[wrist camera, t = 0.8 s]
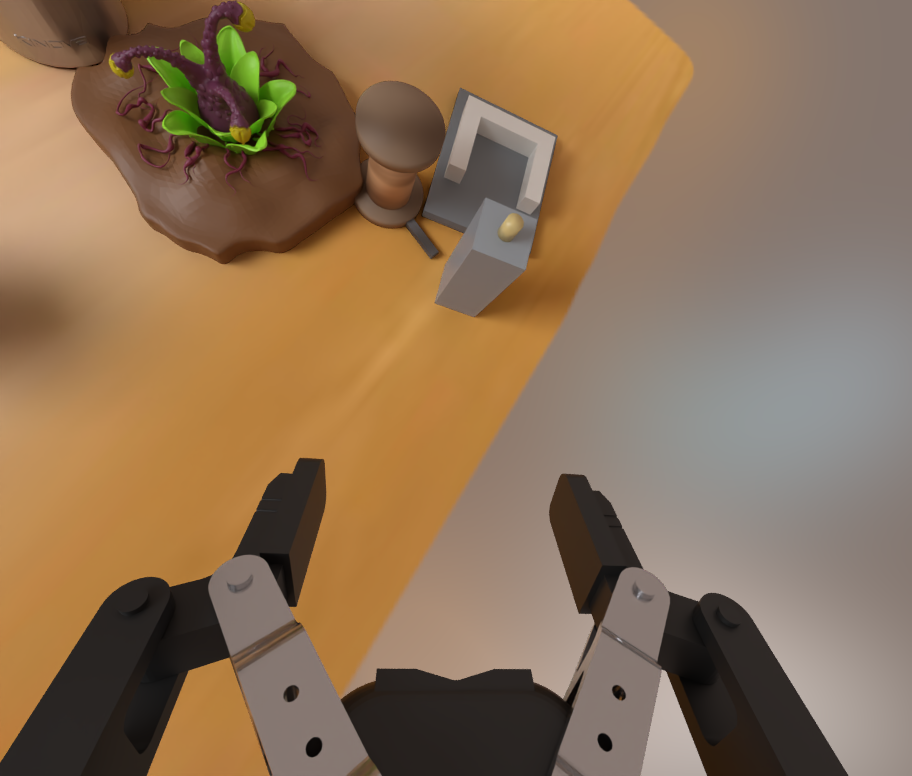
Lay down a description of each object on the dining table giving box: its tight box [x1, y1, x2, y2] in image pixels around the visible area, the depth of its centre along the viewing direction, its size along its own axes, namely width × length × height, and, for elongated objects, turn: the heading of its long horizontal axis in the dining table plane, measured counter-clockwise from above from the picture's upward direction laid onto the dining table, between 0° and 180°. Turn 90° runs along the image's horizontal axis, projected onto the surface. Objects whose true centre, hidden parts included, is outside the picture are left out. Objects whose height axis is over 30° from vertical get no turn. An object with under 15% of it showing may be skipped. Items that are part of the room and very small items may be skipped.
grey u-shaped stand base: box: [422, 88, 557, 254], centre depth 40 cm, size 14×11×3 cm
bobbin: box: [354, 81, 445, 259], centre depth 33 cm, size 10×6×9 cm, turn 15°
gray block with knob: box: [435, 198, 537, 317], centre depth 32 cm, size 4×4×13 cm
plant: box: [71, 1, 363, 264], centre depth 30 cm, size 20×20×11 cm
